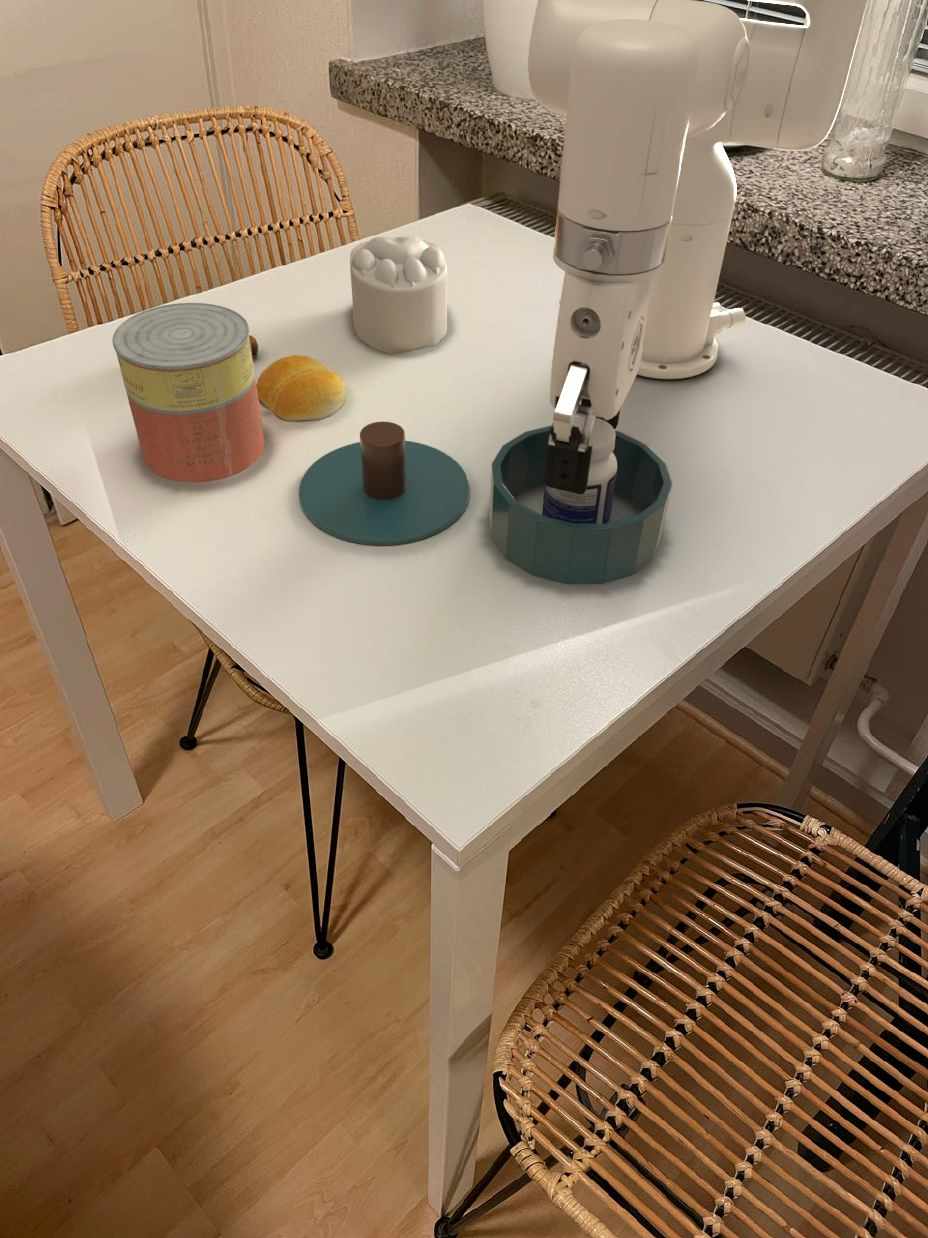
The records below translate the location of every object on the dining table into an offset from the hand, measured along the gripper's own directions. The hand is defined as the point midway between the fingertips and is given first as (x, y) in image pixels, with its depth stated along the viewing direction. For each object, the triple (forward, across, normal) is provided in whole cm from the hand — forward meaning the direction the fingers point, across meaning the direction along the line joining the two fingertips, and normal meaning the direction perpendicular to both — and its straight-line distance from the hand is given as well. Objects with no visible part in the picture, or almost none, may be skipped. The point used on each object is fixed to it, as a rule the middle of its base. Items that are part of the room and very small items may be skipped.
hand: (582, 455), depth 75 cm
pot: (+8, +1, 0) cm, 8 cm away
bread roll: (+8, +11, +31) cm, 34 cm away
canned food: (+8, -1, +35) cm, 36 cm away
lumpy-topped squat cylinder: (+8, +29, +28) cm, 41 cm away
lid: (+8, -1, +17) cm, 19 cm away
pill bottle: (+8, +1, 0) cm, 8 cm away
